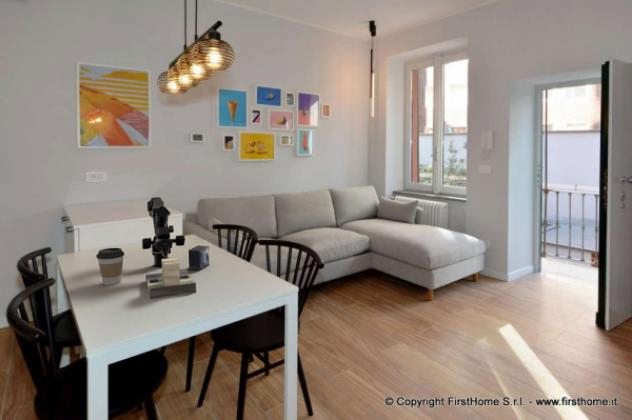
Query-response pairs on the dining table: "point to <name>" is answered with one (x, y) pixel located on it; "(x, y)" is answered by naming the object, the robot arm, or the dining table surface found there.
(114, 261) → the coffee cup
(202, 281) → the dining table surface
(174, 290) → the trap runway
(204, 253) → the small box
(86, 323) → the dining table surface
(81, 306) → the dining table surface
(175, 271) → the birch block
